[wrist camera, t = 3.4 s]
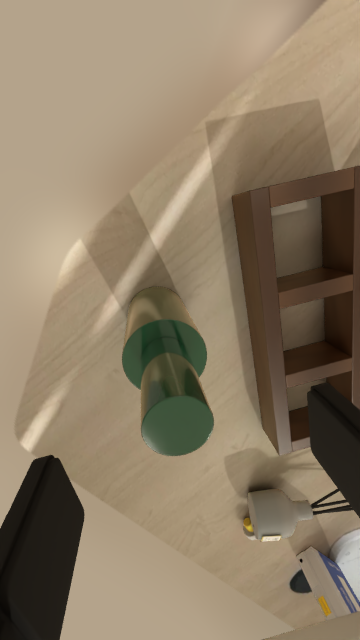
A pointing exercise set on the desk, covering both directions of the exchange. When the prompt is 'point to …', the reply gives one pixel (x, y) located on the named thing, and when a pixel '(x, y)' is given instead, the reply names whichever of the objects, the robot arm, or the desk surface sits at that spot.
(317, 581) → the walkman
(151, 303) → the bottle
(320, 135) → the desk surface
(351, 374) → the rack
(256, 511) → the reed diffuser
